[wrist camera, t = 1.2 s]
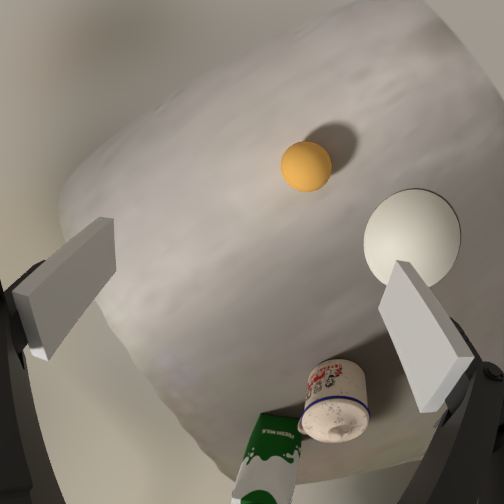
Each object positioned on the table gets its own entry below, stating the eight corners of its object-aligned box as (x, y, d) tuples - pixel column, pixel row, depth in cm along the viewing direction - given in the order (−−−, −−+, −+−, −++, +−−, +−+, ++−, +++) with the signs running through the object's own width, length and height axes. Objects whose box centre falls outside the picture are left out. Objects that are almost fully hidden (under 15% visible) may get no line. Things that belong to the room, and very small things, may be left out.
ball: (340, 159, 35) (343, 161, 30) (314, 197, 37) (312, 205, 32) (300, 132, 35) (296, 130, 30) (275, 171, 37) (267, 175, 32)
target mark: (477, 231, 34) (477, 231, 34) (417, 308, 39) (417, 308, 38) (404, 167, 34) (404, 167, 34) (342, 254, 39) (342, 254, 39)
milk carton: (307, 416, 48) (290, 518, 30) (300, 446, 51) (282, 538, 33) (255, 408, 50) (222, 506, 32) (253, 439, 53) (224, 528, 34)
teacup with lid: (337, 345, 43) (336, 403, 32) (378, 378, 43) (385, 435, 32) (282, 389, 47) (268, 445, 37) (323, 417, 48) (317, 472, 37)
